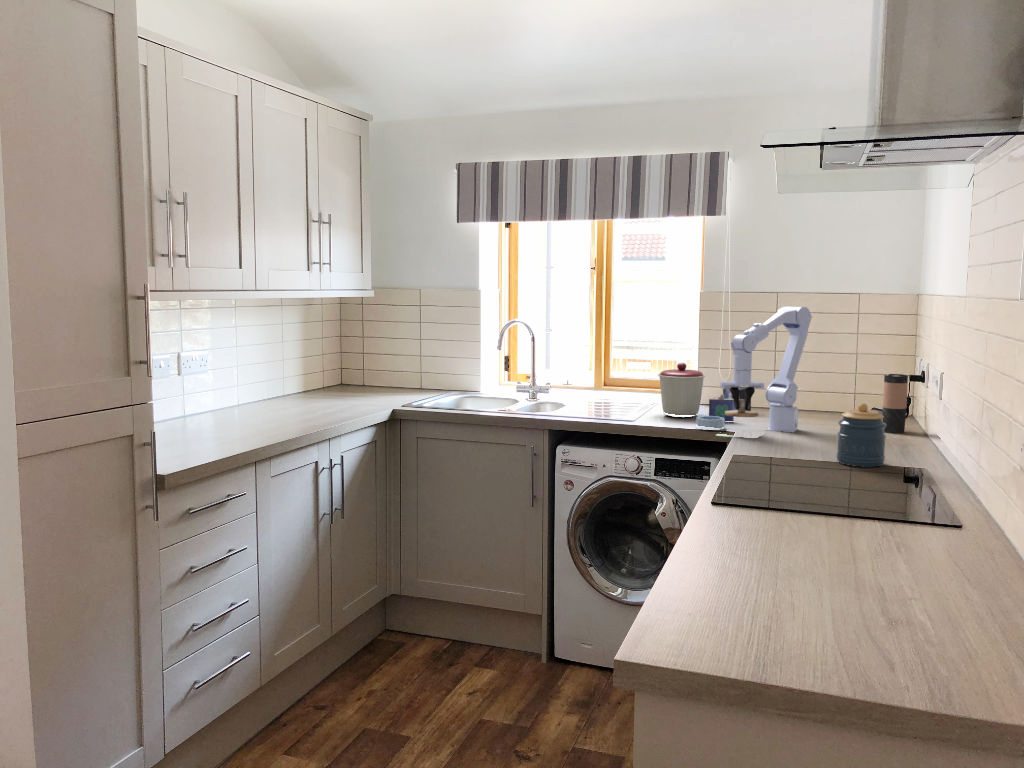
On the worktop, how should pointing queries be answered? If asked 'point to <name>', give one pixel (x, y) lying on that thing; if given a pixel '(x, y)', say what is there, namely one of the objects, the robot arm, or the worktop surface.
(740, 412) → the lid
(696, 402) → the canister
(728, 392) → the small box
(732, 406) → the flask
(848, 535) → the worktop surface
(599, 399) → the worktop surface
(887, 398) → the travel mug
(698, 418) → the bowl
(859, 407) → the canister
